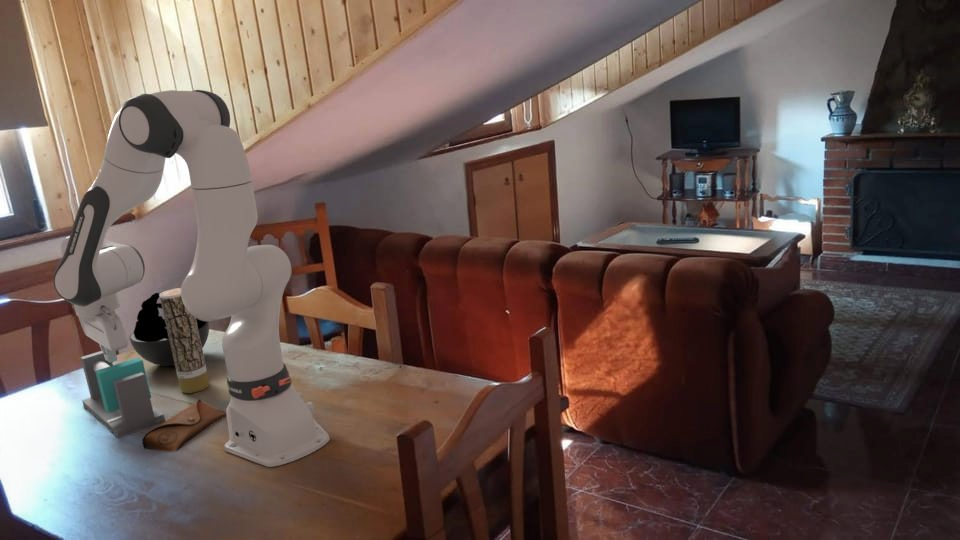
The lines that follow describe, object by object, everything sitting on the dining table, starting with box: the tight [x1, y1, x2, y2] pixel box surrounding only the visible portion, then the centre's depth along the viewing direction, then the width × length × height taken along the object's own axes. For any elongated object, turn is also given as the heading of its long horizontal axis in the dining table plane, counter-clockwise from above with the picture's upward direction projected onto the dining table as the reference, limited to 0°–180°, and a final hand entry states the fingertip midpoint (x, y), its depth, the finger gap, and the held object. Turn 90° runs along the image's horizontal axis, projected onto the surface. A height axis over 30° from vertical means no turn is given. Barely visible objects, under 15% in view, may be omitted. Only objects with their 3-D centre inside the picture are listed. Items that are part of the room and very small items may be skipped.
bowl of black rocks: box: [128, 292, 210, 367], centre depth 198 cm, size 20×20×19 cm
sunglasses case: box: [141, 398, 227, 453], centre depth 160 cm, size 18×7×7 cm, turn 160°
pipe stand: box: [80, 350, 166, 439], centre depth 171 cm, size 26×10×12 cm, turn 43°
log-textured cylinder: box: [159, 287, 210, 394], centre depth 179 cm, size 7×7×25 cm
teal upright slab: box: [95, 357, 152, 413], centre depth 165 cm, size 3×9×9 cm, turn 133°
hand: (111, 360), depth 168 cm, fingers closed
